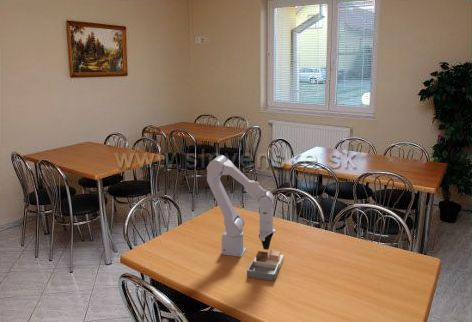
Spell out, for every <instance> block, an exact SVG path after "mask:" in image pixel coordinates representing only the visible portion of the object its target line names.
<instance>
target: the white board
mask: <svg viewBox="0 0 472 322" xmlns="http://www.w3.org/2000/svg"><path fill="white" fill-rule="evenodd" d="M269 254H270V252H268V258H267V260H266V262H261V261H256V256H255V257H254V258H253V260H254V266H261V267H268V268H275V269H276V266H277V264H278V263H279V270H280V269H281V266H282V264H283V262H284V258H285V257H284V254H280V259H279V261H271V260H269Z"/></svg>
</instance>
